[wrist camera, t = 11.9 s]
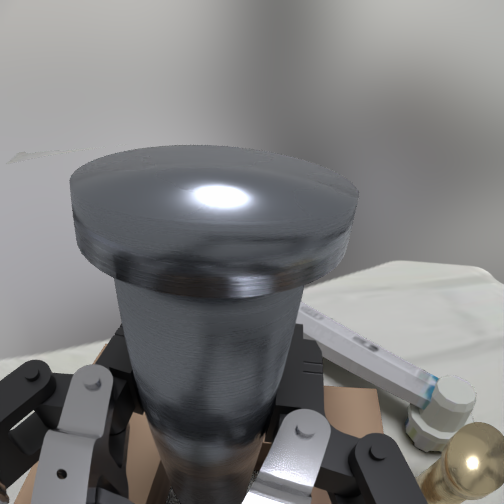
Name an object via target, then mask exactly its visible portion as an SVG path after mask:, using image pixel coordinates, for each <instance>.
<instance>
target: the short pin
mask: <svg viewBox="0 0 504 504" xmlns="http://www.w3.org/2000/svg"><path fill="white" fill-rule="evenodd" d="M415 479H416V481H417V483H418V485H419V487H420V489H421V491H422V493H423V495H424V497H425V499H426V501H427V503H428V504H460V503H462V502H463V501H465V500H478V499H481V498H483V497H486V496H487V495H489V494H490V493H492V492H493V491H495V490H496V489H498V488H499V487H500V486H502V485H503V483H504V436H503V435H502V433H501V432H500V431H498V430H497V429H496V428H494V427H493V426H491V425H489V424H486V423H482V422H473V423H469V424H467V425H465V426H463V427H462V428H461V429H459V430H458V431H457V432H456V433H455V434H454V435H453V436H452V437H451V438H450V439H449V440H448V442H447V443H446V445H445V446H444V448H443V451H442V455H441V458H440V459H439V460H438V461H436V462H435V463H434V464H433V465H432V466H430V467H429V468H428V469H427V470H425V471H424V472H423V473H422V474H420V475H419V476H418V477H416V478H415Z"/></svg>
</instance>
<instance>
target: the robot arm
mask: <svg viewBox="0 0 504 504" xmlns="http://www.w3.org/2000/svg"><path fill="white" fill-rule="evenodd" d="M33 410H34V411H35V412H34V413H33V414H31V415H30V416H29V417H28V418H27V419H25V420H24V421H23V422H22V423H21V424H19V425H18V426H17V427H16V428H15V429H13V430H10V429H11V428H12V427H13V426H15V425H16V424H17V423H18V422H19V421H21V420H22V419H23V418H24V417H25V416H27V415H28V414H29V413H30V412H32V411H33ZM133 412H134V413H137V414H140V415H143V413H144V408H143V405H142V402H141V398H140V395H139V391H138V388H137V384H136V381H135V377H134V373H133V369H132V365H131V361H130V357H129V353H128V349H127V344H126V340H125V335H124V330H123V326H122V324H121V325H120V328H118V330H117V331H116V333H115V336H113V337H112V338H111V340H110V341H109V343H108V344H107V346H106V347H105V349H104V351H103V352H102V354H101V355H100V357H99V358H98V360H97V361H96V363H95V364H92V365H86V366H84V367H82V368H80V369H78V370H77V371H76V372H75V374H61V373H52V372H51V370H50V368H49V366H48V365H47V364H46V363H45V362H43V361H41V360H30V361H28V362H25V363H24V364H22V365H21V366H20V367H18V368H17V369H16V370H14V371H13V372H12V373H10V374H9V375H8V376H6V377H5V378H4V379H2V380H1V381H0V504H8V503H9V497H8V495H7V494H6V489H7V488H8V487H10V486H11V485H12V484H13V483H14V482H15V481H16V480H17V479H19V478H20V477H21V476H22V475H23V474H24V473H25V472H26V471H28V470H29V469H30V468H31V467H32V466H33V465H34V464H35V463H37V462H38V461H39V462H38V467H37V471H36V476H35V482H34V487H33V493H32V499H31V504H135V503H133V502H131V501H130V500H128V499H129V486H128V480H127V475H126V464H127V453H128V443H129V433H130V422H129V420H130V418H131V416H132V414H133ZM264 442H269V443H271V448H270V451H269V453H268V455H267V457H266V459H265V461H264V463H263V465H262V467H261V470H260V472H259V474H258V476H257V477H256V479H255V480H254V482H253V484H252V486H251V488H250V490H249V492H248V494H247V496H246V497H245V499H244V501H243V503H242V504H311V501H312V496H311V492H312V489H313V487H316V488H319V489H322V490H325V491H327V493H328V495H329V498H330V501H331V503H332V504H428V503H427V501H426V499H425V497H424V495H423V493H422V491H421V489H420V487H419V485H418V483H417V481H416V479H415V477H414V475H413V473H412V472H411V470H410V468H409V466H408V464H407V462H406V460H405V458H404V456H403V454H402V452H401V451H400V449H399V447H398V445H397V443H396V442H395V441H394V440H393V439H392V438H391V437H389V436H387V435H385V434H382V433H370V434H367V435H365V436H363V437H362V438H358V437H355V436H352V435H349V434H346V433H343V432H341V431H339V430H337V429H335V428H334V427H333V426H332V425H331V424H330V423H329V421H328V420H327V418H326V415H325V411H324V384H323V366H322V351H321V349H320V347H319V346H318V344H317V342H316V340H308V339H303V324H298V323H295V328H294V332H293V336H292V340H291V343H290V347H289V351H288V355H287V359H286V363H285V367H284V370H283V374H282V378H281V381H280V385H279V388H278V391H277V394H276V397H275V401H274V404H273V408H272V411H271V415H270V418H269V422H268V425H267V428H266V432H265V440H264Z"/></svg>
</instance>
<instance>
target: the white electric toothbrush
mask: <svg viewBox="0 0 504 504" xmlns="http://www.w3.org/2000/svg"><path fill="white" fill-rule="evenodd" d="M296 323H298V324H303V339H308V340H316V342H317V344H318V346H319V347H320V349H321V351H322V356H323V357H324V358H326V359H328V360H330V361H331V362H333V363H335V364H337V365H339V366H341V367H342V368H344V369H346V370H348V371H350V372H352V373H353V374H355V375H357V376H359V377H361V378H363V379H365V380H366V381H368V382H370V383H372V384H374V385H376V386H378V387H380V388H382V389H384V390H386V391H387V392H389V393H391V394H393V395H395V396H397V397H399V398H401V399H403V400H405V401H407V402H409V403H410V405H409V407H408V409H407V410H408V418H407V420H406V422H405V425H406V434H408V435H409V436H410V438H411V439H412V440H413V441H414V443H415V445H414V446H415V447H417V448H419V449H421V450H423V451H425V452H428V451H440V452H441V453H442V451H443V448H444V446H445V445H446V443H447V442H448V440H449V439H450V438H451V437H452V436H453V435H454V434H455V433H456V432H457V431H458V430H459V429H461V428H462V427H463V426H465V425H467V424H469V423H473V422H474V420H473V417H472V414H471V412H472V410H473V408H474V405H475V402H476V392H475V389H474V387H473V386H472V385H471V384H470V383H469V382H468V381H467V380H464V379H462V378H460V377H458V376H450V375H447V376H444V377H441V378H437V377H435V376H433V375H432V374H430V373H428V372H426V371H424V370H422V369H421V368H419V367H417V366H415V365H413V364H411V363H410V362H408V361H406V360H404V359H402V358H401V357H399V356H397V355H395V354H393V353H392V352H390V351H388V350H386V349H384V348H383V347H381V346H379V345H377V344H375V343H374V342H372V341H370V340H368V339H367V338H365V337H363V336H361V335H359V334H358V333H356V332H354V331H352V330H351V329H349V328H347V327H345V326H344V325H342V324H340V323H338V322H336V321H335V320H333V319H331V318H329V317H328V316H326V315H324V314H322V313H321V312H319V311H317V310H315V309H314V308H312V307H310V306H309V305H307V304H305V303H303V302H302V301H301V303H300V307H299V311H298V315H297V319H296Z"/></svg>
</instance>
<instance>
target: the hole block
mask: <svg viewBox="0 0 504 504" xmlns="http://www.w3.org/2000/svg"><path fill="white" fill-rule="evenodd" d="M106 346H107V344H105V346H104V347H103V349H102V350H101V352H100V353H99V355H98V356H97V358H96V360H95V361H94V363H93V364H95V363H96V361H97V360H98V358H99V357H100V355H101V354H102V352H103V351H104V349H105V347H106ZM324 411H325V415H326V418H327V420H328V421H329V423H330V424H331V425H332V426H333V427H334V428H335V429H337V430H339V431H341V432H343V433H346V434H349V435H352V436H355V437H358V438H362V437H363V436H365V435H367V434H370V433H382V434H384V433H383V426H382V419H381V413H380V406H379V400H378V395H377V389H369V388H349V387H334V386H324ZM129 422H130V433H129V443H128V453H127V464H126V475H127V480H128V486H129V499H128V500H130V501H131V502H133V503H135V504H165V503H166V500H167V497H168V494H169V490H170V487H171V484H170V481H169V479H168V476H167V474H166V471H165V469H164V466H163V464H162V461H161V459H160V456H159V453H158V450H157V448H156V445H155V442H154V439H153V436H152V433H151V430H150V427H149V424H148V421H147V418H146V415H145V412H144V413H143V415H140V414H137V413H134V412H133V414H132V416H131V418H130V420H129ZM264 440H265V436H264ZM264 440H263V443H262V446H261V449H260V452H259V456H258V459H257V462H256V465H255V468H254V470H256V471H260V470H261V467H262V465H263V463H264V461H265V459H266V457H267V455H268V453H269V451H270V448H271V443H269V442H264ZM38 462H39V461H38ZM38 462H37V463H35V464H34V465H33V466H32V468H31V470H30V472H29V474H28V476H27V478H26V480H25V482H24V484H23V486H22V488H21V490H20V492H19V494H18V496H17V498H16V500H15V502H14V504H31V499H32V493H33V487H34V482H35V476H36V471H37V467H38ZM311 496H312V501H311V504H332V503H331V501H330V498H329V495H328V493H327V491H325V490H322V489H319V488H316V487H313V489H312V492H311Z"/></svg>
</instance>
